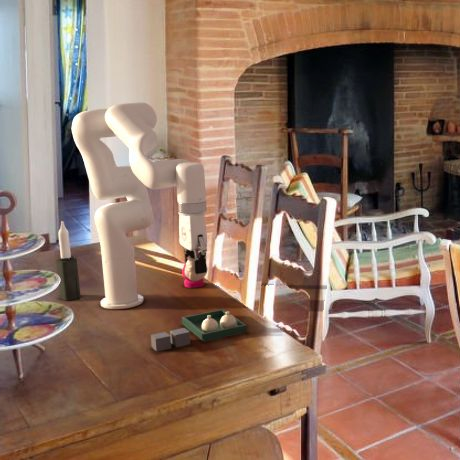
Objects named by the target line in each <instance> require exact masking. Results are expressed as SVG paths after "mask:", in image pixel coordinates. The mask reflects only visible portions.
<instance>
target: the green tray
mask: <svg viewBox="0 0 460 460" xmlns="http://www.w3.org/2000/svg"><path fill="white" fill-rule="evenodd" d="M226 312H227V310H226V309H224V308H221V309H217V310H212V311H207V312H202V313H201V312H200V313H197V314H192V315H187V316H182V317H181V324H182V325H183V326H184V328H186V329H187V330H188V331H189V332H191V333H193V334H194V335H195V336H196V337H198V339H200V340H201V341H203V342H207V341H208V342H209V341H212V340H216V339H222V338H225V337H231V336H234V335H239V334H243V333H247V332H248V325H247V324H246V323H244V322H243V321H242V320H241V319H238V318H237V317H236V316H234V314H233V315H232V314H231V312H229V314H230V315H232V316H234V317H235V319H236V325H235V327H231V328H226V329H223V328H222V327H221V325H220V320H221V318H222V317H223V316H224V315H226ZM208 315H211V318H212V319H214V320H216V322H217V323H218V328H217V330H216V331H212V332H207V333H205V332H203V330H202V323H203V321H204V320H206V319H207V316H208Z"/></svg>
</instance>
